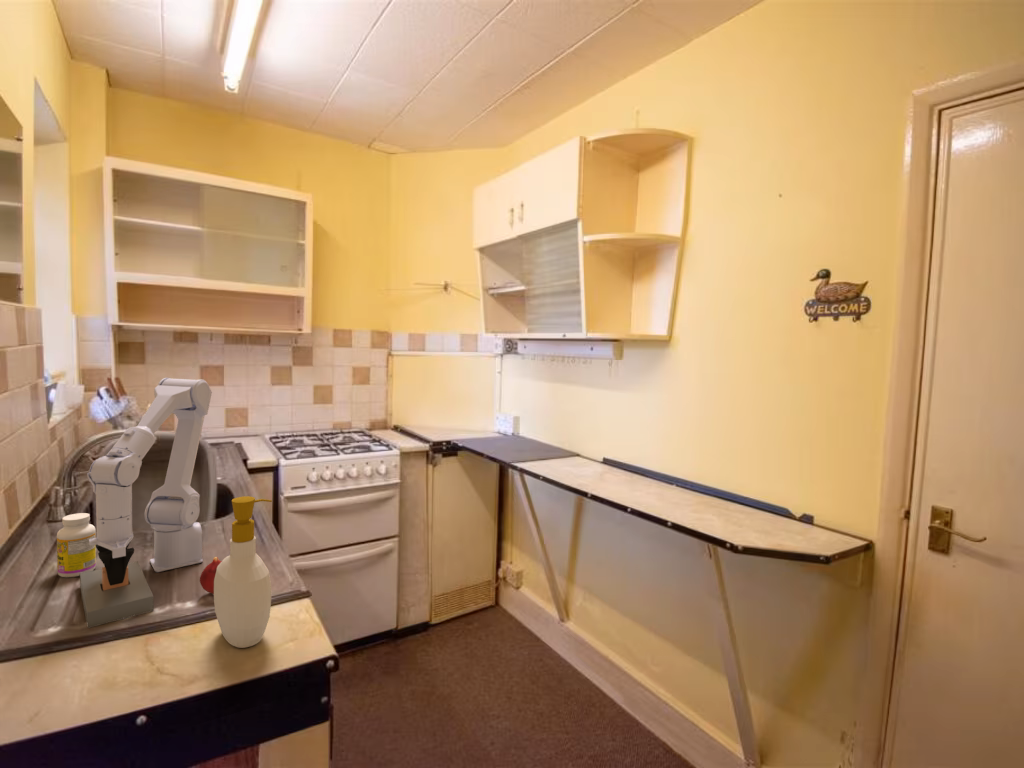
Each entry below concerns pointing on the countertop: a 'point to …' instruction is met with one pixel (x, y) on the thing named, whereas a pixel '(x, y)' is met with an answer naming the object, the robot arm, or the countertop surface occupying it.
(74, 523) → the supplement bottle
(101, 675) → the countertop surface
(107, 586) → the plug
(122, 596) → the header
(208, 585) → the onion
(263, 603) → the soap bottle
